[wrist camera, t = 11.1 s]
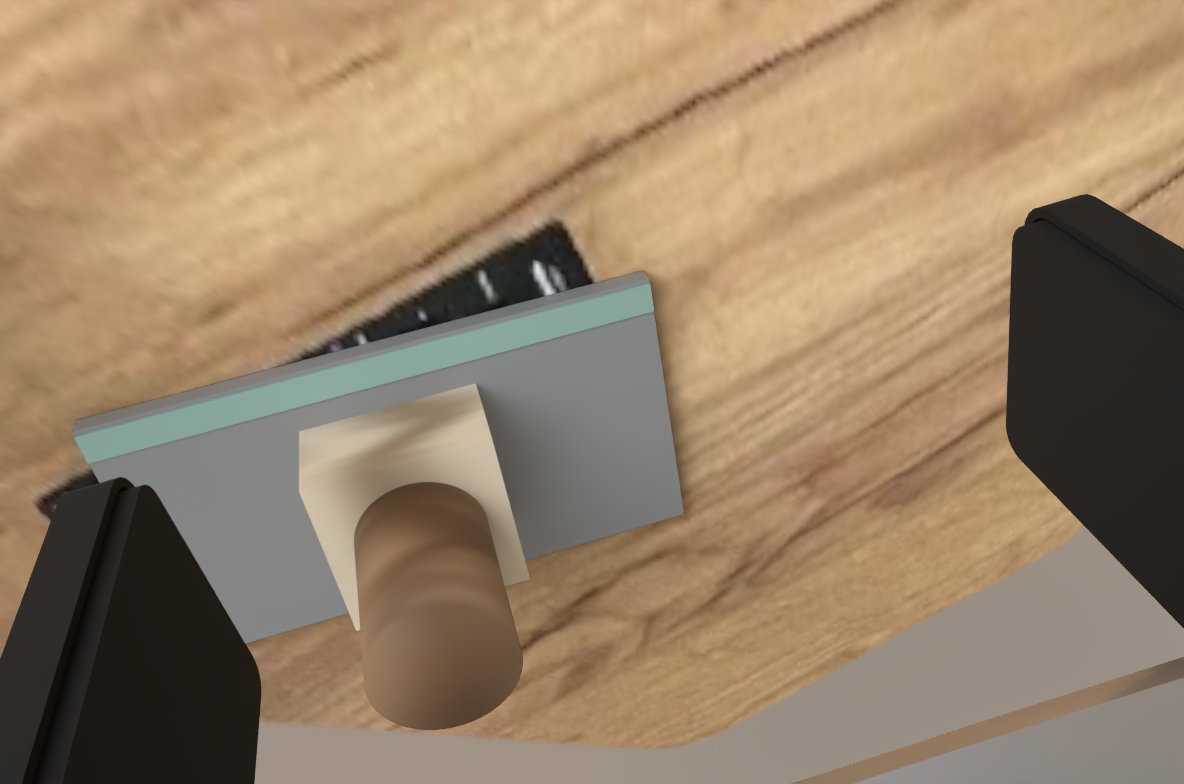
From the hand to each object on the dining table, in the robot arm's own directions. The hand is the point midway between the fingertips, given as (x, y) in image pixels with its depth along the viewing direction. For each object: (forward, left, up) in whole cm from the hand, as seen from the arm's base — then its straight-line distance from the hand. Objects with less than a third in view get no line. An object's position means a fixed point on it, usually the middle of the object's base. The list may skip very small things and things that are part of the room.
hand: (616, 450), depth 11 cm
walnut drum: (+4, +18, -22) cm, 28 cm away
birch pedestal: (+4, +18, -26) cm, 32 cm away
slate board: (+4, +18, -27) cm, 32 cm away
